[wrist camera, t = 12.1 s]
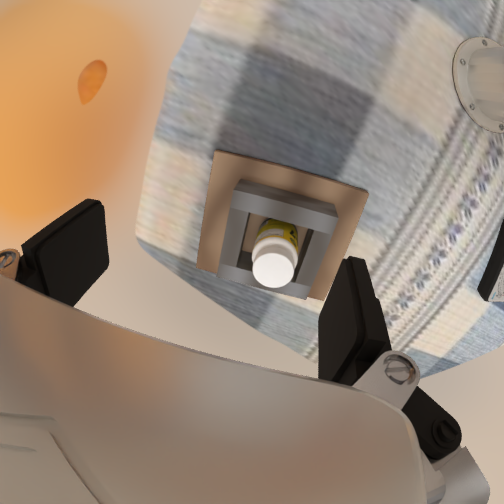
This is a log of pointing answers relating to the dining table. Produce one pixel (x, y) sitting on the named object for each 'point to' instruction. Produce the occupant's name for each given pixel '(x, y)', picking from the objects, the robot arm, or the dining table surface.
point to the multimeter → (494, 273)
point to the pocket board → (286, 181)
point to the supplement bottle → (275, 253)
